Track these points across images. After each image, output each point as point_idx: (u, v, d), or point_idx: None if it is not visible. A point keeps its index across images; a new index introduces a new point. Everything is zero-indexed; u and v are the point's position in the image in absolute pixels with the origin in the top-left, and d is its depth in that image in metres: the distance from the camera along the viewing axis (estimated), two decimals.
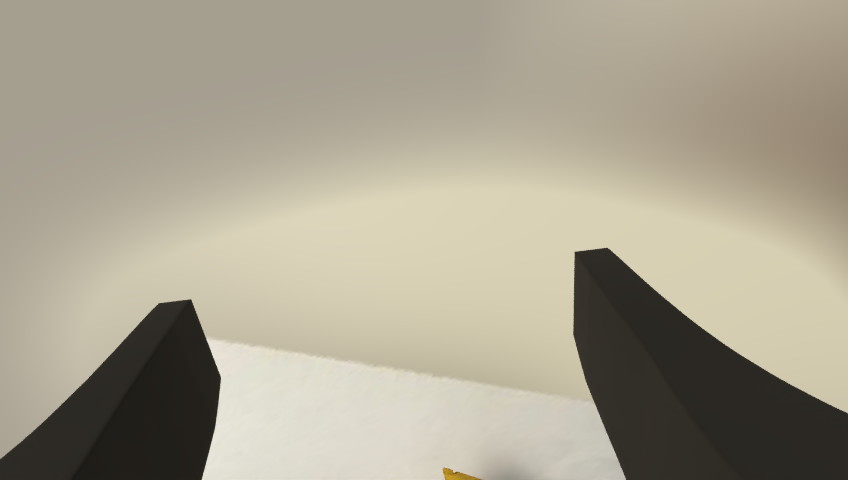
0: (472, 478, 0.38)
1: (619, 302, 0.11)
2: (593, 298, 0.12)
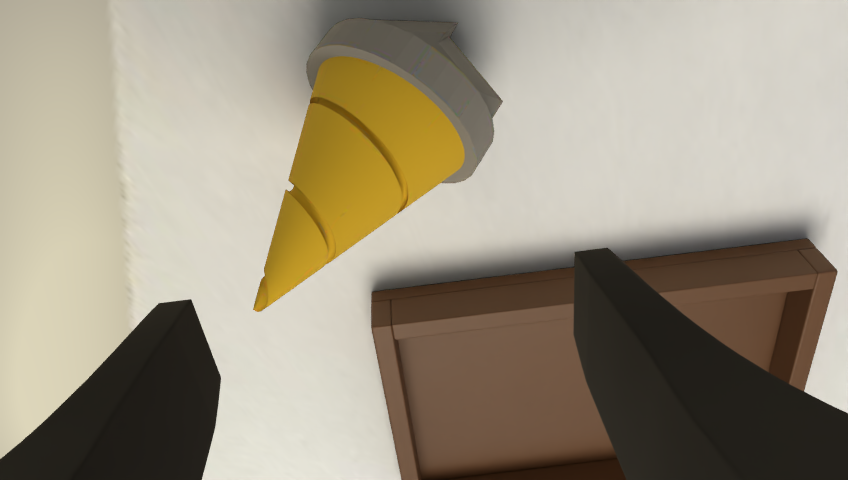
0: (278, 229, 0.17)
1: (619, 302, 0.11)
2: (593, 298, 0.12)
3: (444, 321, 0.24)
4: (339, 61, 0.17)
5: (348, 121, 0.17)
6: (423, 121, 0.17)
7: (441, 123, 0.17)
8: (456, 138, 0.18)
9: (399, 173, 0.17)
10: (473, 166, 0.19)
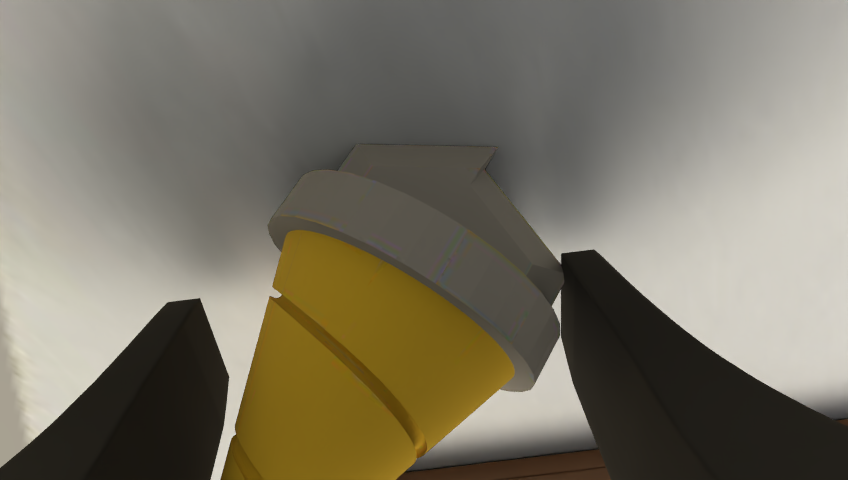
0: None
1: (603, 304, 0.11)
2: (578, 300, 0.12)
3: None
4: (315, 242, 0.11)
5: (329, 350, 0.10)
6: (453, 348, 0.10)
7: (482, 347, 0.10)
8: (504, 361, 0.11)
9: (412, 422, 0.11)
10: (527, 387, 0.12)
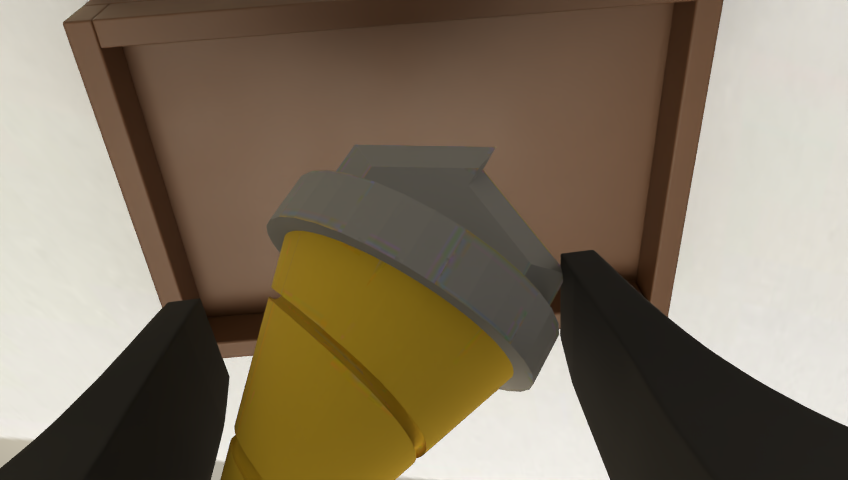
0: None
1: (602, 304, 0.11)
2: (578, 300, 0.12)
3: (169, 19, 0.17)
4: (314, 242, 0.11)
5: (327, 351, 0.10)
6: (451, 347, 0.10)
7: (481, 347, 0.10)
8: (503, 361, 0.11)
9: (412, 423, 0.11)
10: (526, 386, 0.12)
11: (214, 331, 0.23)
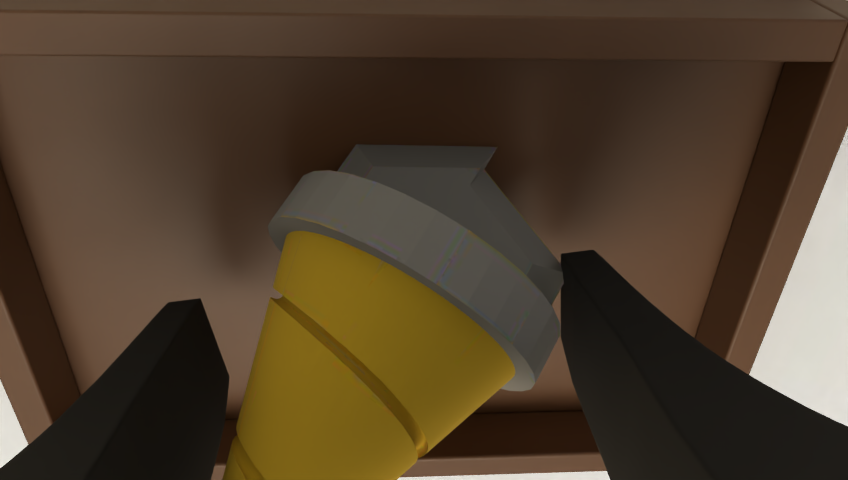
0: None
1: (602, 304, 0.11)
2: (578, 300, 0.12)
3: (22, 18, 0.10)
4: (316, 243, 0.11)
5: (329, 351, 0.10)
6: (453, 347, 0.10)
7: (482, 347, 0.10)
8: (504, 362, 0.11)
9: (413, 423, 0.11)
10: (527, 386, 0.12)
11: None
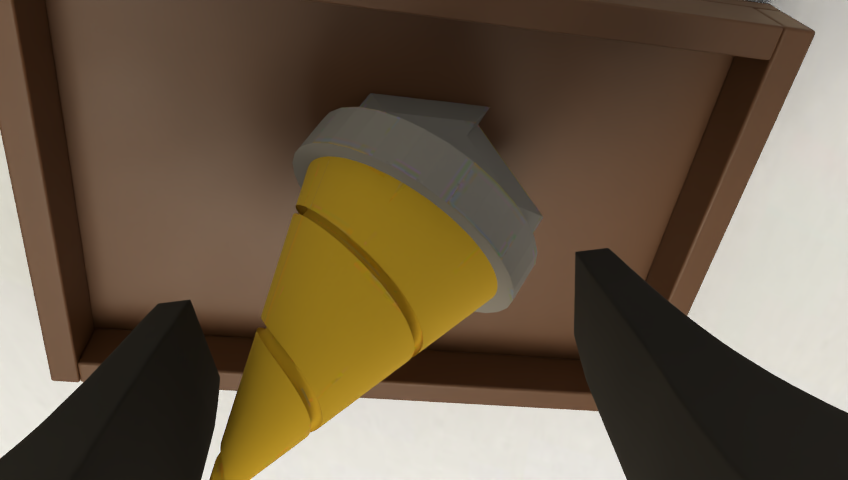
0: (244, 392, 0.12)
1: (620, 302, 0.11)
2: (594, 297, 0.12)
3: None
4: (343, 165, 0.13)
5: (352, 254, 0.12)
6: (454, 259, 0.13)
7: (476, 261, 0.13)
8: (491, 278, 0.13)
9: (413, 322, 0.13)
10: (504, 305, 0.14)
11: (102, 348, 0.18)
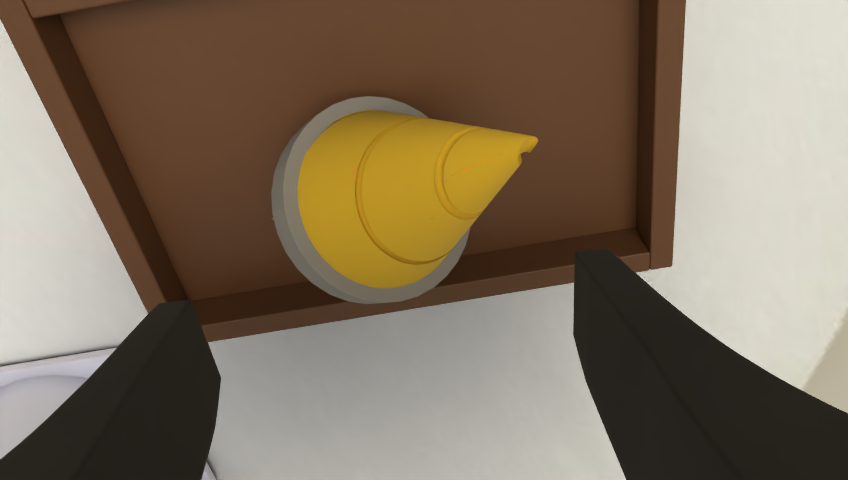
0: None
1: (619, 302, 0.11)
2: (593, 298, 0.12)
3: None
4: (445, 258, 0.18)
5: (434, 259, 0.17)
6: (360, 271, 0.17)
7: (341, 268, 0.17)
8: (319, 249, 0.17)
9: (373, 229, 0.16)
10: (287, 208, 0.17)
11: None
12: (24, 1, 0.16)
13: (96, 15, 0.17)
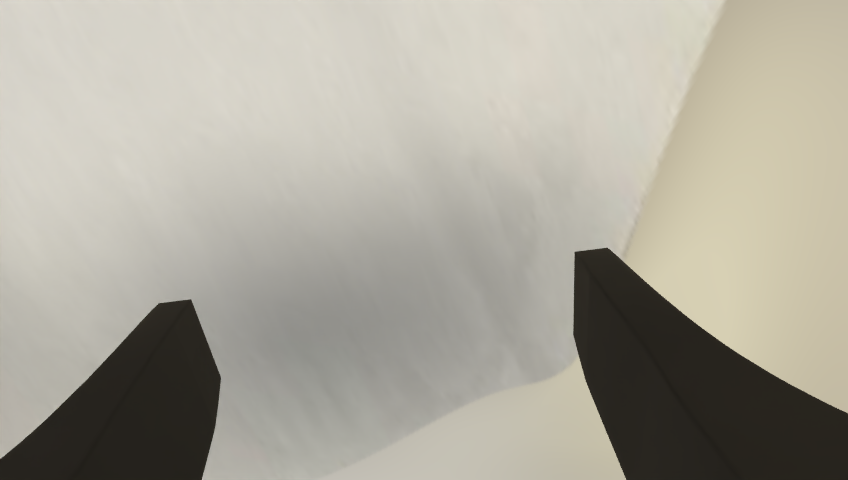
0: None
1: (619, 302, 0.11)
2: (593, 298, 0.12)
3: None
4: None
5: None
6: None
7: None
8: None
9: None
10: None
11: None
12: None
13: None
